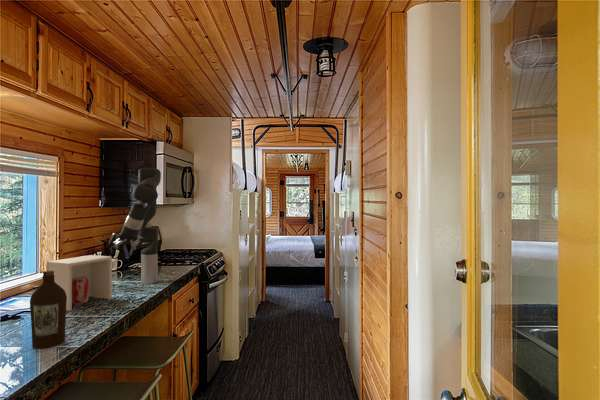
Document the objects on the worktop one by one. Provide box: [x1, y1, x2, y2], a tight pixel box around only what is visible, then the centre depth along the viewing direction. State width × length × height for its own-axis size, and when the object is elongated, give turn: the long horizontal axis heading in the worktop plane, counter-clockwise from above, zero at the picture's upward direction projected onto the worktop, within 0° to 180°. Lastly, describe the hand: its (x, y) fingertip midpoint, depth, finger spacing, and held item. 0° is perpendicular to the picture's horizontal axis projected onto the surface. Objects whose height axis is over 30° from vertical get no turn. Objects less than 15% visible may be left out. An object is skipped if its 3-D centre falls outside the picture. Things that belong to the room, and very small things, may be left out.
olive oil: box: [29, 270, 67, 349], centre depth 129 cm, size 11×11×25 cm
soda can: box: [72, 277, 89, 305], centre depth 181 cm, size 7×7×12 cm
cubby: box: [46, 254, 113, 312], centre depth 180 cm, size 15×22×21 cm
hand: (121, 253), depth 179 cm, fingers open, 8 cm apart
